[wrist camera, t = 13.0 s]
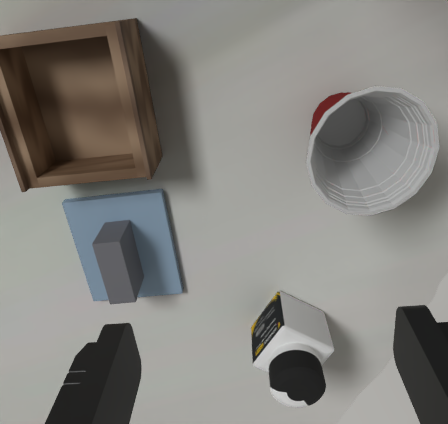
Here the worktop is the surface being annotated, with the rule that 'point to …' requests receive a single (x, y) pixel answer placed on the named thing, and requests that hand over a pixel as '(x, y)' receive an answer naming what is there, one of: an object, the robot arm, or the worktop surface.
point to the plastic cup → (371, 149)
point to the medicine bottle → (292, 349)
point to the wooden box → (77, 105)
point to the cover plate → (144, 233)
